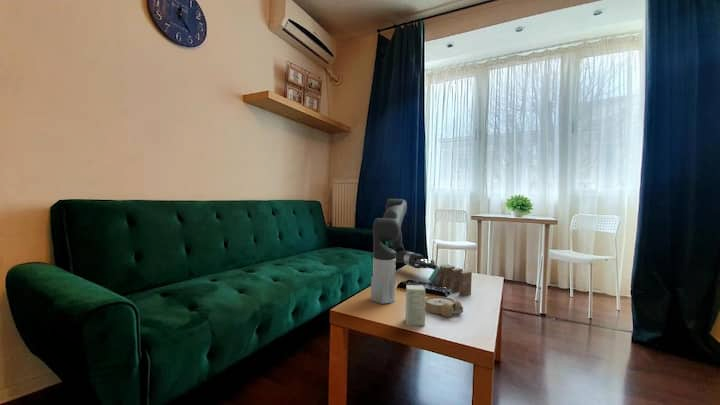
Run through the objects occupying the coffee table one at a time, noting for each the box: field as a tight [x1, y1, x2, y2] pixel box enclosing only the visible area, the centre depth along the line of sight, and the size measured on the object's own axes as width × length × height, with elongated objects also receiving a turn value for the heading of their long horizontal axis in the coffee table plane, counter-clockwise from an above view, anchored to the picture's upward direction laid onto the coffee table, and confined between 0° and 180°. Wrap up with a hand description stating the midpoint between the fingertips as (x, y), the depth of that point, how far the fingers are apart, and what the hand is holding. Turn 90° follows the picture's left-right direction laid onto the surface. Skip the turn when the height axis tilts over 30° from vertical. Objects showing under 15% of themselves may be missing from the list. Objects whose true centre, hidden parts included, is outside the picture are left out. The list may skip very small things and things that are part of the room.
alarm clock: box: [425, 296, 464, 318], centre depth 106 cm, size 11×5×15 cm
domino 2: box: [442, 264, 456, 289], centre depth 132 cm, size 2×5×10 cm, turn 118°
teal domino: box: [428, 264, 442, 283], centre depth 138 cm, size 2×5×10 cm
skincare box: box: [405, 284, 426, 326], centre depth 95 cm, size 6×4×12 cm
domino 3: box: [450, 267, 464, 293], centre depth 128 cm, size 2×5×10 cm, turn 118°
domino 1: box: [434, 264, 451, 286], centre depth 135 cm, size 2×5×10 cm, turn 119°
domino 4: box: [458, 270, 473, 297], centre depth 123 cm, size 2×5×10 cm, turn 118°
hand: (436, 267), depth 139 cm, fingers closed
